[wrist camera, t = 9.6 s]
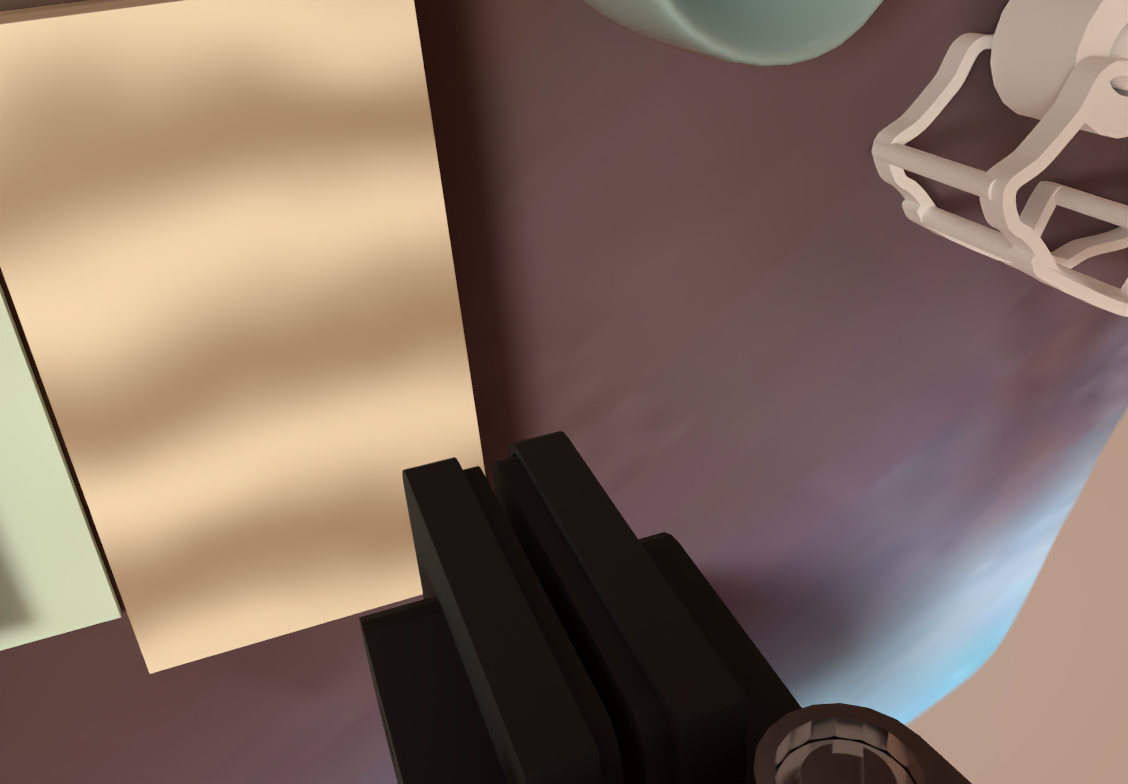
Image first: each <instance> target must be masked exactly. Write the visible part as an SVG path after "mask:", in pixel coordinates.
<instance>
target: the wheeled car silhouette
mask: <svg viewBox="0 0 1128 784" xmlns="http://www.w3.org/2000/svg"><path fill="white" fill-rule="evenodd" d="M984 49H992V51H991V60H990V65H991V71H992V77H993V84H994V87H995V89H996V90H997V92H998V94H999V96H1000V98H1001V100H1002V102H1003V103H1004V104H1005V105H1006V106H1008V107H1009V108H1010V109H1011V110H1013V111H1014V112H1015V113H1016V114H1019V115H1023V116H1027V117H1031V118H1035V119H1039V120H1041V121H1040V122H1039V123H1038V124H1037V125H1036V127H1035V128H1034V129H1033V130H1032V131H1031V133H1030V134H1029V135H1028V136H1027V137H1026V138H1025V139H1024V141H1023V142H1022V143H1021V144H1020V145H1019V146H1018V147H1017V148H1016V149H1015V150H1014V151H1013V152H1012V153H1011V154H1010V155H1008V156H1007V157H1006V158H1004V159H1003V160H1001V161H1000V162H998V163H997V164H996V165H994V166H993V167H992V168H990V169H989V170H988V171H987V172H985V171H982V170H979V169H975V168H972V167H969V166H966V165H963V164H960V163H957V162H954V161H951V160H948V159H945V158H942V157H939V156H936V155H933V154H930V153H927V152H924V151H921V150H918V149H915V148H912V147H909V146H906V145H905V144H906V143H907V142H909V141H910V140H912V139H913V138H915V137H916V136H918V135H919V134H920V133H921V132H923V131H924V130H925V129H926V128H927V127H928V126H929V125H930V124H931V123H932V122H933V120H934V119H935V118H936V117H937V116H938V115H939V113H940V112H941V111H942V110H943V108H944V107H945V106H946V105H947V104H948V102H949V101H950V100H951V99H952V98H953V96H954V95H955V94H956V93H957V91H958V90H959V89H960V88H961V86H962V85H963V83H964V81H965V79H966V77H967V75H968V73H969V71H970V69H971V67H972V65H973V63H974V61H975V59H976V57H977V56H978V54H979V53H980V52H981V51H983V50H984ZM1079 130H1083V131H1087V132H1091V133H1095V134H1099V135H1104V136H1108V137H1112V138H1116V139H1118V138H1123V137H1128V0H1009V2H1008V4H1007V5H1006V7H1005V8H1004V10H1003V12H1002V14H1001V16H1000V19H999V22H998V25H997V28H996V31H995V33H994V34H990V35H987V34H980V33H965V34H963V35H961V36H960V37H958V38H957V39H956V40H955V41H954V42H953V43H952V44H951V46H950V48H949V50H948V52H947V53H946V55H945V57H944V60H943V62H942V64H941V66H940V68H939V70H938V72H937V74H936V75H935V77H934V78H933V79H932V81H931V82H930V83H929V84H928V86H927V87H926V88H925V89H924V91H923V92H922V93H921V94H920V95H919V97H918V98H917V99H916V100H915V101H914V103H913V104H912V105H911V106H910V107H909V108H908V109H907V111H906V112H905V113H904V114H903V115H902V116H901V117H900V118H898V119H897V120H895V121H894V122H893V123H891V124H890V125H888V126H887V127H885V128H884V129H883V130H882V131H880V132H879V133H878V135H877V136H876V138H875V140H874V142H873V147H872V155H873V158H874V162H875V165H876V168H877V171H878V173H879V175H880V177H881V178H882V179H883V180H884V181H885V182H887V183H889V184H891V185H892V186H894V187H895V188H896V189H897V190H898V191H899V192H900V193H901V194H902V196H903V197H904V198H905V200H904V201H903V203H902V208H903V210H904V213H905V215H906V216H907V218H909V219H910V220H911V221H913V222H915V223H917V224H919V225H921V226H923V227H925V228H927V229H929V230H930V231H932V232H933V233H936V234H938V235H940V236H942V237H945V238H947V239H949V240H952V241H954V242H956V243H958V244H960V245H962V246H965V247H967V248H969V249H972V250H974V251H976V252H979V253H981V254H984V255H986V256H989V257H991V258H994V259H996V260H999V261H1002V262H1003V263H1005V264H1007V265H1009V266H1011V267H1014V268H1016V269H1018V270H1020V271H1022V272H1024V273H1026V274H1028V275H1030V276H1032V277H1034V278H1036V279H1037V280H1039V281H1040V282H1042V283H1045V284H1047V285H1049V286H1052V287H1054V288H1056V289H1058V290H1061V291H1063V292H1065V293H1067V294H1069V295H1071V296H1074V297H1076V298H1078V299H1080V300H1083V301H1085V302H1087V303H1090V304H1092V305H1094V306H1097V307H1099V308H1102V309H1104V310H1107V311H1110V312H1112V313H1115V314H1118V315H1122V316H1127V317H1128V278H1127V279H1126V281H1125V283H1124V285H1123V286H1122V288H1121V289H1119V288H1116V287H1114V286H1111V285H1109V284H1106V283H1104V282H1102V281H1099V280H1097V279H1094V278H1092V277H1089V276H1087V275H1084V274H1082V273H1079V272H1077V271H1074V270H1072V269H1070V268H1073V267H1074V266H1076V265H1077V264H1079V263H1081V262H1082V261H1084V260H1086V259H1087V258H1090V257H1093V256H1096V255H1099V254H1103V253H1108V252H1112V251H1117V250H1120V249H1124V248H1127V247H1128V206H1127V205H1124V204H1121V203H1118V202H1115V201H1112V200H1108V199H1105V198H1102V197H1099V196H1096V195H1093V194H1089V193H1086V192H1083V191H1080V190H1077V189H1073V188H1070V187H1067V186H1064V185H1061V184H1058V183H1054V182H1051V181H1041V182H1039V184H1038V185H1037V186H1036V188H1035V189H1034V191H1033V192H1032V194H1031V196H1030V198H1029V200H1028V201H1027V203H1026V205H1025V207H1024V209H1023V211H1022V213H1021V215H1020V217H1019V215H1018V212H1017V208H1016V192H1017V190H1018V189H1019V188H1020V187H1021V186H1022V185H1024V184H1025V183H1027V182H1028V181H1030V180H1031V179H1032V178H1034V177H1035V176H1037V175H1038V174H1039V173H1041V172H1042V171H1043V170H1044V169H1045V168H1046V167H1047V166H1048V165H1049V164H1050V163H1051V162H1052V161H1053V160H1054V159H1055V158H1056V157H1057V155H1058V154H1059V153H1060V152H1061V151H1062V150H1063V148H1064V147H1065V146H1066V145H1067V144H1068V142H1069V141H1070V140H1071V139H1072V138H1073V137H1074V135H1075V134H1076V133H1077V132H1078V131H1079ZM903 169H905V170H908V171H911V172H913V173H916V174H919V175H922V176H924V177H927V178H930V179H933V180H935V181H938V182H941V183H944V184H947V185H949V186H952V187H955V188H958V189H960V190H963V191H966V192H969V193H971V194H974V195H977V196H980V204H981V208H982V211H983V214H984V217H985V219H986V221H987V222H988V223H989V224H990V225H991V226H992V227H994V228H996V229H998V230H999V231H1000V232H998V231H996V230H993V229H990V228H988V227H985V226H983V225H980V224H978V223H975V222H973V221H970V220H968V219H965V218H963V217H960V216H958V215H955V214H953V213H950V212H947V211H945V210H942V209H940V208H937V207H936V206H935V204H934V203H933V201H932V200H931V198H930V197H929V196H928V194H927V193H926V192H925V190H924V189H923V188H922V187H921V186H920V185H919V184H918V183H917V182H916V181H914V180H912V179H910V178H908V177H907V176H906V175H905V172H904V170H903ZM1056 205H1059V206H1062V207H1065V208H1068V209H1071V210H1074V211H1077V212H1080V213H1082V214H1085V215H1088V216H1091V217H1094V218H1097V219H1100V220H1103V221H1106V222H1109V223H1112V224H1115V225H1118V226H1119V227H1117V228H1115V229H1113V230H1111V231H1108V232H1105V233H1102V234H1097V235H1093V236H1088V237H1084V238H1080V239H1076V240H1073V241H1070V242H1068V243H1067V244H1065V245H1063V246H1061V247H1060V248H1058V249H1057V250H1055V251H1053V252H1051V253H1050V251H1049V250H1048V248H1047V247H1046V245H1045V244H1044V242H1043V241H1042V239H1041V238H1040V237H1041V235H1042V233H1043V231H1044V229H1045V226H1046V224H1047V222H1048V221H1049V219H1050V217H1051V215H1052V213H1053V211H1054V209H1055V207H1056Z"/></svg>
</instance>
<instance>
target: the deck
mask: <svg viewBox="0 0 1128 784" xmlns="http://www.w3.org/2000/svg"><path fill="white" fill-rule="evenodd" d="M0 267H1V270H2V273H3V275H4V278H5V281H6V284H7V286H8V289H9V292H10V295H11V297H12V300H13V303H14V305H15V308H16V311H17V314H18V316H19V319H20V322H21V325H22V327H23V330H24V333H25V335H26V338H27V341H28V344H29V346H30V349H31V352H32V354H33V357H34V360H35V363H36V365H37V368H38V371H39V374H40V376H41V379H42V382H43V384H44V387H45V390H46V393H47V395H48V398H49V401H50V404H51V406H52V409H53V412H54V414H55V417H56V420H57V423H58V425H59V428H60V431H61V434H62V436H63V439H64V442H65V444H66V447H67V450H68V453H69V455H70V458H71V461H72V463H73V466H74V469H75V472H76V474H77V477H78V480H79V483H80V485H81V488H82V491H83V493H84V496H85V499H86V502H87V504H88V507H89V510H90V513H91V515H92V518H93V521H94V523H95V526H96V529H97V532H98V534H99V537H100V540H101V543H102V545H103V548H104V551H105V553H106V556H107V559H108V562H109V564H110V567H111V570H112V573H113V575H114V578H115V581H116V583H117V586H118V589H119V592H120V594H121V597H122V600H123V602H124V605H125V608H126V611H127V613H128V616H129V619H130V622H131V624H132V627H133V630H134V632H135V635H136V638H137V641H138V643H139V646H140V649H141V652H142V654H143V657H144V660H145V662H146V665H147V668H148V671H149V673H150V674H151V673H154V672H157V671H161V670H164V669H168V668H171V667H175V666H178V665H181V664H185V663H188V662H192V661H195V660H199V659H202V658H205V657H209V656H212V655H216V654H219V653H223V652H226V651H229V650H233V649H236V648H240V647H243V646H247V645H250V644H253V643H257V642H260V641H264V640H267V639H270V638H274V637H277V636H281V635H284V634H288V633H291V632H294V631H298V630H301V629H305V628H308V627H312V626H315V625H318V624H322V623H325V622H329V621H332V620H336V619H339V618H342V617H346V616H349V615H353V614H356V613H360V612H363V611H366V610H370V609H373V608H377V607H380V606H384V605H387V604H390V603H394V602H397V601H401V600H404V599H407V598H411V597H414V596H418V595H421V594H423V591H422V586H421V580H420V574H419V569H418V563H417V558H416V552H415V546H414V541H413V535H412V530H411V524H410V518H409V513H408V507H407V502H406V496H405V490H404V484H403V476H402V471H403V470H404V469H408V468H412V467H417V466H421V465H425V464H429V463H433V462H437V461H441V460H445V459H449V458H453V457H455V458H457V460H458V461H459V463H460V465H461V467H462V469H463V470H464V469H468V468H472V467H476V466H480V468H481V469H482V471H483V473H484V475H485V469H484V463H483V456H482V449H481V443H480V436H479V430H478V423H477V416H476V410H475V403H474V396H473V390H472V383H471V376H470V370H469V363H468V356H467V350H466V343H465V337H464V330H463V323H462V317H461V310H460V303H459V297H458V290H457V283H456V277H455V270H454V263H453V257H452V250H451V244H450V237H449V230H448V224H447V217H446V210H445V204H444V197H443V190H442V184H441V177H440V171H439V164H438V157H437V151H436V144H435V137H434V131H433V124H432V117H431V111H430V104H429V97H428V91H427V84H426V78H425V71H424V64H423V58H422V51H421V44H420V38H419V31H418V24H417V18H416V11H415V4H414V0H88V1H80V2H73V3H65V4H57V5H49V6H41V7H33V8H25V9H17V10H10V11H2V12H0Z"/></svg>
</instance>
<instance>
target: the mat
mask: <svg viewBox="0 0 1128 784" xmlns="http://www.w3.org/2000/svg"><path fill="white" fill-rule="evenodd" d="M120 617H121V609H120V606H119V603H118V601H117V598H116V595H115V593H114V590H113V587H112V584H111V582H110V579H109V576H108V574H107V571H106V568H105V566H104V563H103V560H102V557H101V555H100V552H99V549H98V547H97V544H96V541H95V539H94V536H93V533H92V530H91V528H90V525H89V522H88V520H87V517H86V514H85V512H84V509H83V506H82V503H81V501H80V498H79V495H78V493H77V490H76V487H75V484H74V482H73V479H72V476H71V474H70V471H69V468H68V466H67V463H66V460H65V457H64V455H63V452H62V449H61V447H60V444H59V441H58V439H57V436H56V433H55V430H54V428H53V425H52V422H51V420H50V417H49V414H48V412H47V409H46V406H45V403H44V401H43V398H42V395H41V393H40V390H39V387H38V384H37V382H36V379H35V376H34V374H33V371H32V368H31V366H30V363H29V360H28V357H27V355H26V352H25V349H24V347H23V344H22V341H21V339H20V336H19V333H18V330H17V328H16V325H15V322H14V320H13V317H12V314H11V312H10V309H9V306H8V303H7V301H6V298H5V295H4V293H3V290H2V287H1V284H0V650H4V649H8V648H11V647H15V646H19V645H22V644H26V643H29V642H33V641H37V640H40V639H44V638H48V637H51V636H55V635H58V634H62V633H66V632H69V631H73V630H76V629H80V628H84V627H87V626H91V625H95V624H98V623H102V622H105V621H109V620H113V619H116V618H120Z"/></svg>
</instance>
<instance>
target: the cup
mask: <svg viewBox="0 0 1128 784" xmlns="http://www.w3.org/2000/svg"><path fill="white" fill-rule="evenodd" d="M581 1H582V2H583V3H584V4H586V5H587V6H588V7H590V8H591V9H593V10H594V11H596V12H597V13H599V14H600V15H602V16H603V17H605V18H606V19H608V20H610V21H611V22H613V23H615V24H616V25H618V26H620V27H622V28H625V29H627V30H629V31H632V32H634V33H637V34H639V35H642V36H644V37H647V38H649V39H652V40H654V41H657V42H660V43H662V44H665V45H668V46H671V47H674V48H678V49H681V50H684V51H688V52H691V53H695V54H698V55H702V56H705V57H709V58H713V59H717V60H722V61H727V62H733V63H738V64H744V65H749V66H786V65H791V64H795V63H799V62H803V61H807V60H811V59H815V58H817V57H819V56H821V55H823V54H825V53H827V52H829V51H831V50H833V49H835V48H837V47H838V46H840V45H841V44H842V43H844V42H845V41H846V40H847V39H848V38H850V37H851V36H852V35H853V34H854V33H855V32H857V31H858V30H859V29H860V28H861V27H862V26H863V25H864V24H865V22H866V21H867V20H868V19H869V18H870V16H871V15H872V14H873V13H874V11H875V10H876V9H877V8H878V6H879V5H880V4H881V3H882V1H883V0H581Z"/></svg>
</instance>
